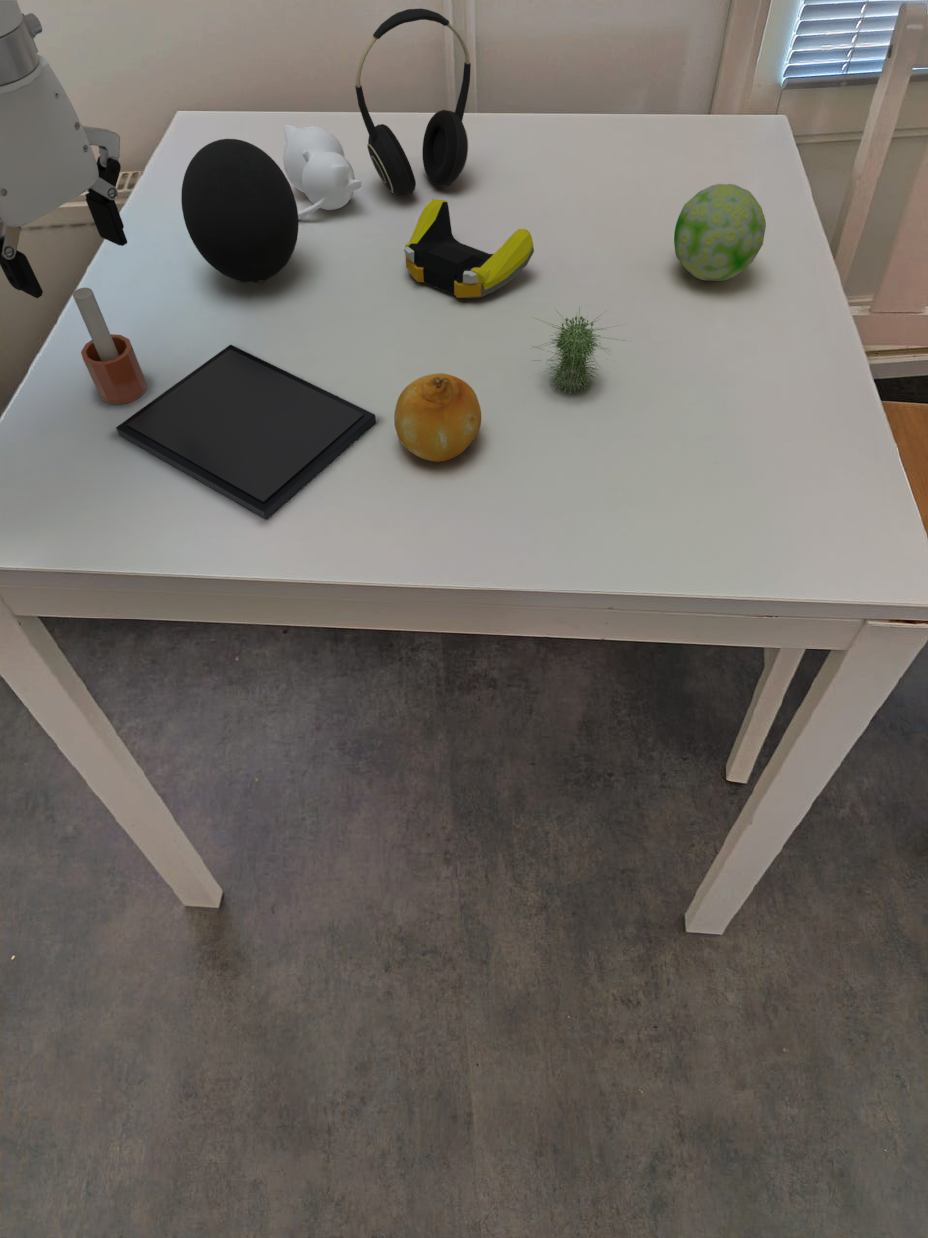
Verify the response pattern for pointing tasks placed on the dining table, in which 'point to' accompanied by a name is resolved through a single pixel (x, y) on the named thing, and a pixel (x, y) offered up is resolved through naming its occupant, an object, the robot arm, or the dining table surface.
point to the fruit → (437, 417)
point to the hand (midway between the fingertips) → (73, 265)
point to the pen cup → (115, 372)
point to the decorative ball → (719, 232)
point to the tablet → (247, 429)
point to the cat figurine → (318, 168)
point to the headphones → (442, 133)
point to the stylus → (95, 324)
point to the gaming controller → (461, 256)
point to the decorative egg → (239, 210)
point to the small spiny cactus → (574, 352)
